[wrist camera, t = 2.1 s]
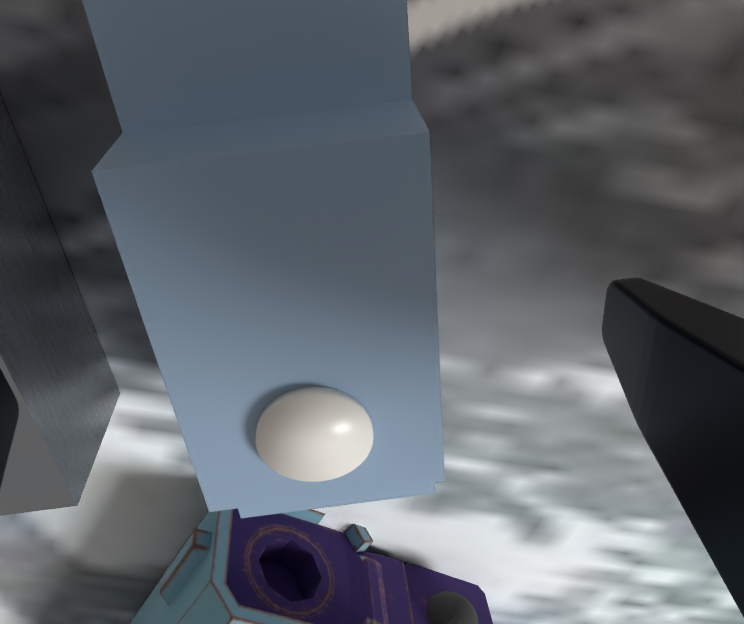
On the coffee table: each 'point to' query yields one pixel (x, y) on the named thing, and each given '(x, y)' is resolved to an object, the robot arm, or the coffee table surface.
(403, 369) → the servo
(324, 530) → the pistol
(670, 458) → the robot arm
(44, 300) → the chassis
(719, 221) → the coffee table surface
